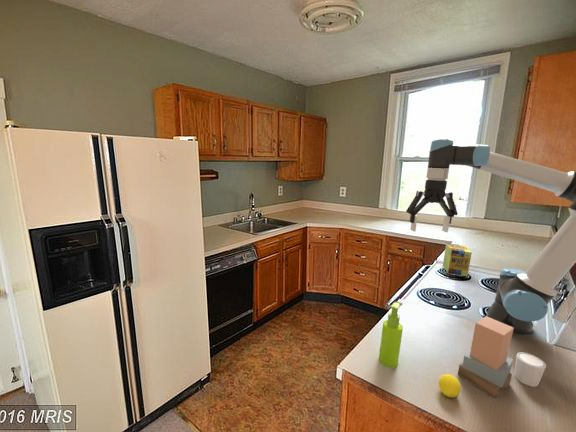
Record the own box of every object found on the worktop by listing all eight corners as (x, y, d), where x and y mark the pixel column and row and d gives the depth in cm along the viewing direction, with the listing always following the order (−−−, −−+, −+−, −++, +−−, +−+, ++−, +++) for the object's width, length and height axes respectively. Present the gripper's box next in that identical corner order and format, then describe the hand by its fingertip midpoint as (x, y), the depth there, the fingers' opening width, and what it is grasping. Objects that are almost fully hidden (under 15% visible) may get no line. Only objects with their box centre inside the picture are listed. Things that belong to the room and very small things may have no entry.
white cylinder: (527, 371, 88) (531, 351, 87) (547, 388, 82) (553, 368, 80) (506, 370, 88) (510, 351, 87) (525, 388, 81) (530, 367, 80)
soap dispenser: (401, 359, 91) (409, 304, 87) (393, 370, 86) (401, 312, 82) (384, 350, 95) (391, 297, 91) (375, 361, 90) (382, 305, 86)
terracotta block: (480, 347, 87) (486, 316, 85) (506, 361, 82) (513, 327, 79) (469, 355, 84) (475, 322, 81) (496, 370, 78) (504, 335, 76)
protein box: (447, 274, 164) (451, 249, 161) (442, 265, 178) (446, 242, 175) (467, 277, 161) (472, 252, 158) (460, 268, 175) (464, 244, 172)
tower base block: (473, 364, 91) (475, 353, 90) (509, 385, 83) (512, 374, 82) (457, 375, 86) (459, 364, 85) (494, 399, 78) (496, 387, 77)
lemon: (457, 407, 75) (460, 392, 73) (435, 396, 78) (437, 381, 76) (461, 388, 80) (463, 374, 78) (440, 378, 83) (442, 364, 82)
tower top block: (472, 353, 91) (474, 342, 90) (510, 371, 83) (513, 359, 83) (462, 367, 84) (464, 355, 83) (502, 387, 77) (505, 375, 76)
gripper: (460, 179, 114) (452, 229, 118) (401, 177, 113) (395, 228, 117) (473, 181, 107) (464, 234, 111) (410, 179, 105) (403, 232, 110)
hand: (428, 231), depth 114 cm, fingers open, 13 cm apart
